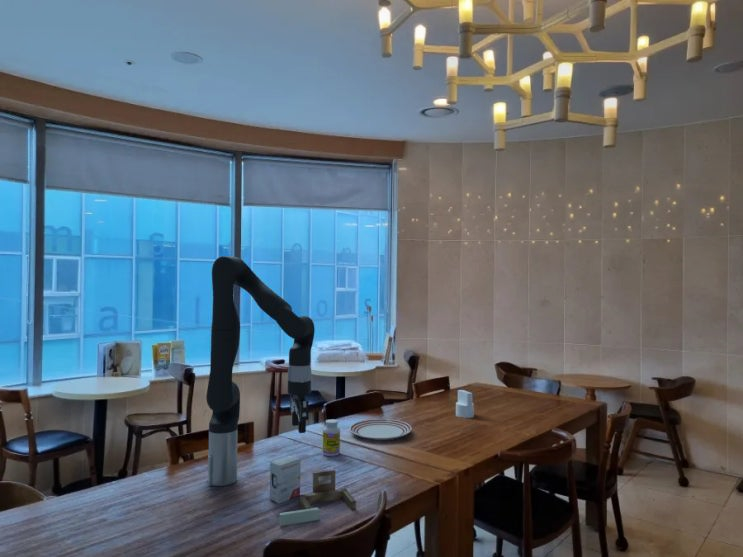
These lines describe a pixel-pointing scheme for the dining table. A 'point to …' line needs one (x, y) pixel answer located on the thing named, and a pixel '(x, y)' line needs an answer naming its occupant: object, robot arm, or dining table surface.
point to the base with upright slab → (464, 404)
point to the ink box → (285, 479)
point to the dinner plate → (380, 429)
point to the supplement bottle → (331, 438)
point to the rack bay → (325, 491)
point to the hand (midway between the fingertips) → (298, 429)
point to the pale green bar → (299, 516)
